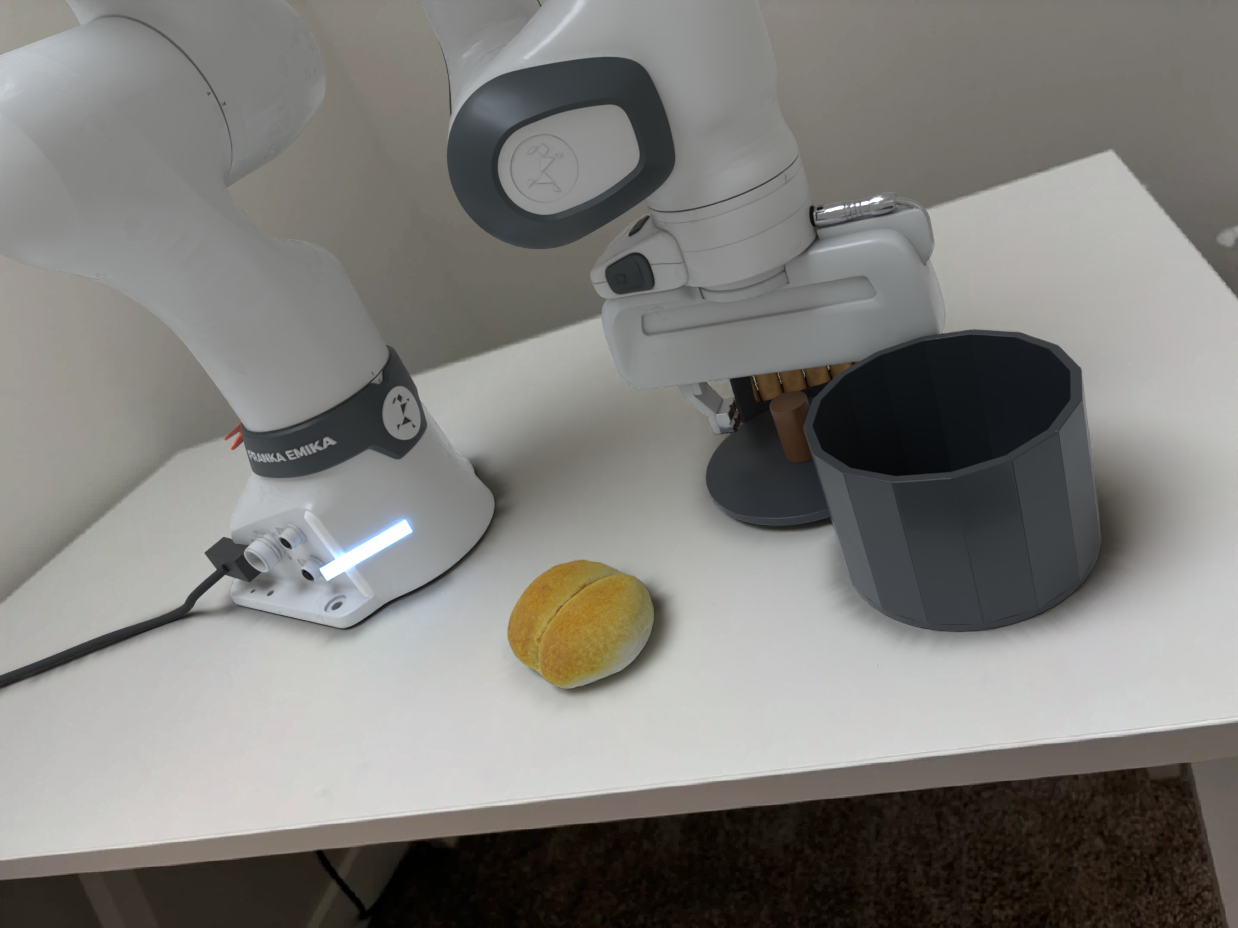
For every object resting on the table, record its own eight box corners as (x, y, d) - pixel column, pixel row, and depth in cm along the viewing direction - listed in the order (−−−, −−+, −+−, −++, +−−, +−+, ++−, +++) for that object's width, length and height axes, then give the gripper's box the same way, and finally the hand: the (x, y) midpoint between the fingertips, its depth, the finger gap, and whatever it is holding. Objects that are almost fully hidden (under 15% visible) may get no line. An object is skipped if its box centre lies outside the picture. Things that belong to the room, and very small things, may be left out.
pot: (828, 631, 50) (781, 490, 45) (865, 479, 59) (829, 349, 55) (1105, 632, 44) (1084, 468, 39) (1097, 461, 53) (1080, 313, 48)
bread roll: (586, 715, 51) (558, 664, 49) (500, 654, 58) (472, 607, 56) (690, 617, 55) (667, 566, 53) (597, 570, 61) (574, 523, 59)
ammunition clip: (741, 423, 70) (691, 278, 64) (739, 411, 71) (690, 267, 65) (886, 380, 68) (849, 225, 62) (881, 368, 69) (843, 215, 63)
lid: (687, 539, 61) (660, 475, 58) (736, 419, 71) (716, 360, 68) (900, 527, 55) (881, 454, 52) (922, 397, 64) (907, 331, 62)
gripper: (929, 161, 52) (970, 375, 59) (602, 234, 61) (670, 410, 68) (916, 208, 47) (962, 434, 54) (565, 280, 57) (642, 463, 64)
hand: (796, 421), depth 61 cm, fingers open, 8 cm apart
